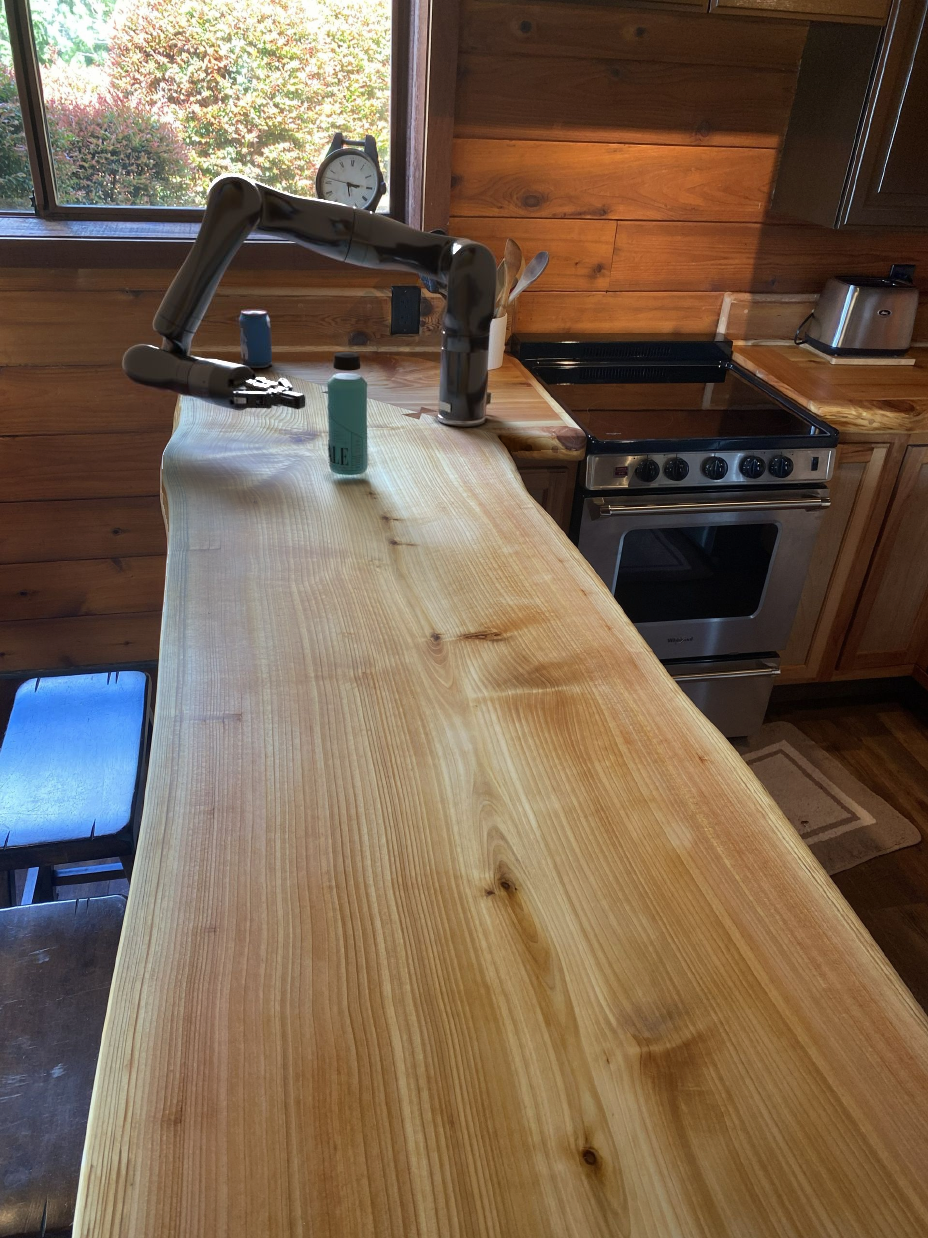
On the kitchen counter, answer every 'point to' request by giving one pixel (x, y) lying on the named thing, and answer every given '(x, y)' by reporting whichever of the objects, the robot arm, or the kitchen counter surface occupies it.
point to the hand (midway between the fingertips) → (302, 402)
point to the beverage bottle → (347, 417)
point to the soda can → (255, 338)
